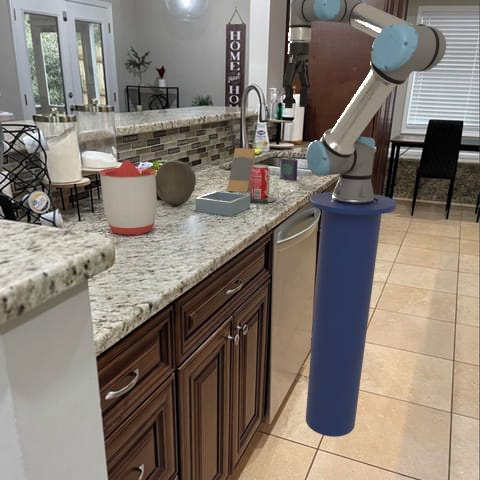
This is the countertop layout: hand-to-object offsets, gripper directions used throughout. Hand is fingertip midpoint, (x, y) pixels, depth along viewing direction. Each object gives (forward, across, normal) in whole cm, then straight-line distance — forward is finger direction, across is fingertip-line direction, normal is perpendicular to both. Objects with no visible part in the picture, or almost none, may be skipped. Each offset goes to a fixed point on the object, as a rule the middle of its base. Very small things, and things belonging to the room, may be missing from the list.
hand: (295, 107), depth 183 cm
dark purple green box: (+32, -30, -14) cm, 46 cm away
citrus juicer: (+32, +72, -20) cm, 81 cm away
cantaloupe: (+32, +38, -28) cm, 57 cm away
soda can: (+31, +16, -6) cm, 36 cm away
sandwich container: (+32, -1, -23) cm, 39 cm away
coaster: (+32, +16, -6) cm, 36 cm away
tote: (+32, +36, -10) cm, 49 cm away
